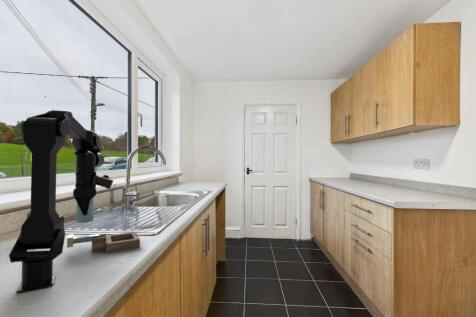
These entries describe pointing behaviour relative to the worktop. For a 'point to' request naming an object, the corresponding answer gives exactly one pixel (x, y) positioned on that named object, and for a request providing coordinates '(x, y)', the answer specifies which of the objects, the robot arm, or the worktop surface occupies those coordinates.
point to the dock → (115, 242)
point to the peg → (90, 213)
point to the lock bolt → (79, 239)
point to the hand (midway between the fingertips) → (85, 213)
